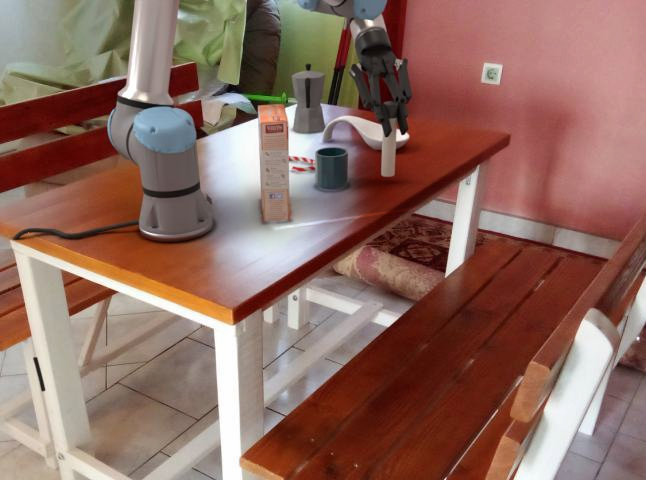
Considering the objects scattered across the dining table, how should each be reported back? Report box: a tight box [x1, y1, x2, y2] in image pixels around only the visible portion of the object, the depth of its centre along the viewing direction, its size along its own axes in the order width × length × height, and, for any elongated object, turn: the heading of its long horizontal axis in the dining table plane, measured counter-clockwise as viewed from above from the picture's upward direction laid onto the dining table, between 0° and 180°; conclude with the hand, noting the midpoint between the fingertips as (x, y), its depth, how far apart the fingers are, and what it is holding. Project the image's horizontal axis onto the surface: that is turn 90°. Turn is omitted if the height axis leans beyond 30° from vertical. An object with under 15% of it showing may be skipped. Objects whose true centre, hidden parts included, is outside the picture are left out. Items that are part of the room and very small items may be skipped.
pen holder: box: [314, 146, 349, 190], centre depth 163 cm, size 7×7×8 cm
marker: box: [380, 100, 398, 178], centre depth 158 cm, size 3×3×16 cm
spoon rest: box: [321, 115, 410, 151], centre depth 188 cm, size 24×12×7 cm, turn 59°
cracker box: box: [257, 103, 291, 223], centre depth 149 cm, size 14×6×21 cm, turn 1°
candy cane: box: [289, 155, 315, 172], centre depth 179 cm, size 8×1×15 cm
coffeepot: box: [291, 63, 326, 134], centre depth 201 cm, size 15×9×18 cm, turn 175°
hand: (396, 132), depth 154 cm, fingers closed on marker, 3 cm apart
